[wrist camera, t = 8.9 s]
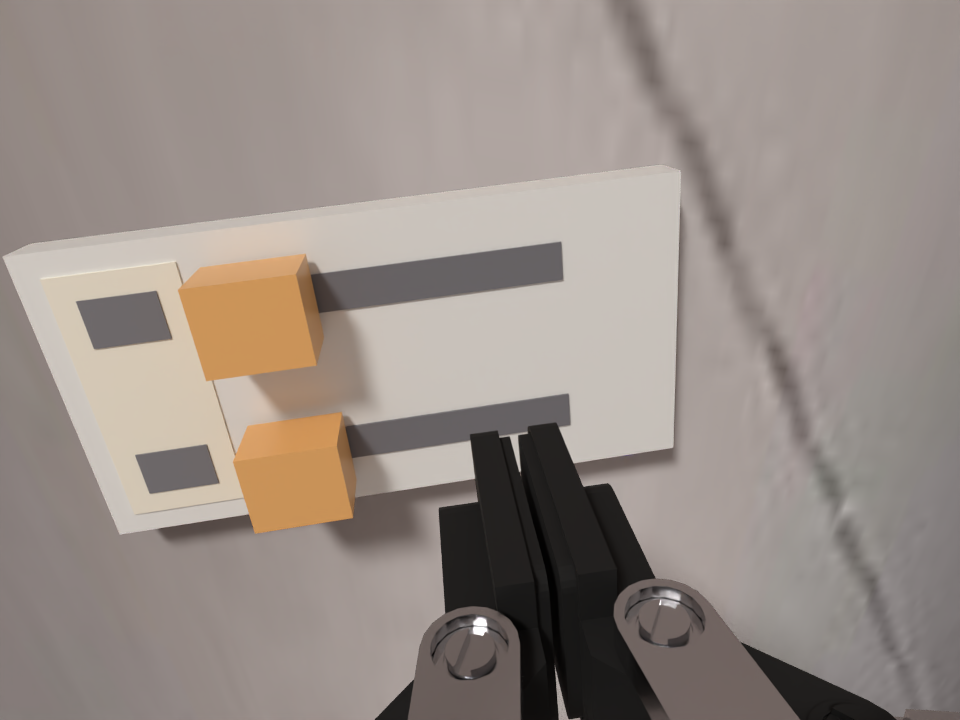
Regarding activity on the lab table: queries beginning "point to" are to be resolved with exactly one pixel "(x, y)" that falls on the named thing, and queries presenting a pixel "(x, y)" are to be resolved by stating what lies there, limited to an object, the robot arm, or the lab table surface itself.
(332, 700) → the lab table surface
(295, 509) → the switch tab
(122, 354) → the switch panel
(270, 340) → the switch tab
